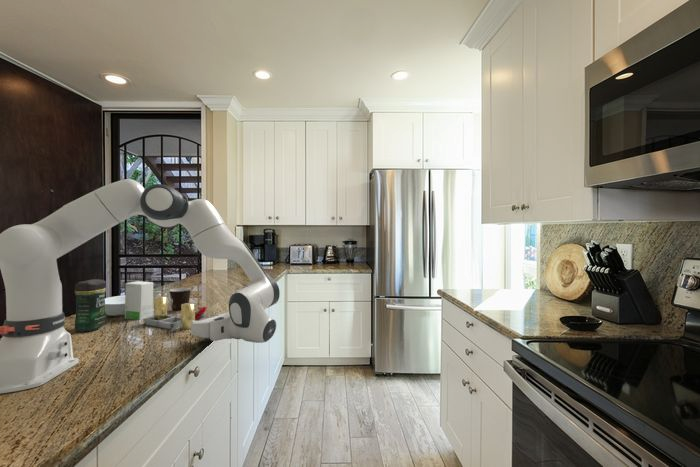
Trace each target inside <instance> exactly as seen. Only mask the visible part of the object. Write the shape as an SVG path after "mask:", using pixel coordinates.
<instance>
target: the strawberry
mask: <svg viewBox="0 0 700 467" xmlns="http://www.w3.org/2000/svg"><path fill="white" fill-rule="evenodd" d="M207 310H208V306H201V307H199V308H198V309H196V310H195V320H199V318H207V315H206V314H205V312H207Z"/></svg>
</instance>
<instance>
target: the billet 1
mask: <svg viewBox="0 0 700 467" xmlns="http://www.w3.org/2000/svg"><path fill="white" fill-rule="evenodd" d="M167 315H168V296H166V295H159V296H153V317H154V320H158V321H159V320H162V319H166V318H167Z"/></svg>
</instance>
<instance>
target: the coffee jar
mask: <svg viewBox="0 0 700 467" xmlns="http://www.w3.org/2000/svg"><path fill="white" fill-rule="evenodd" d="M106 291H107V282H106V280H104V279H99V278H95V279H93V278H92V279H87V280H85V281H79V282H77V283H76V284H75V287H74V294H75V299H76V302H75V303H76V306H75V320H74V331H76V332H80V333H85V332H90V331H92V332H93V331H97V330H99V329H101V328H102V327H103V326H105V325H107V315H106V311H105V298H106Z"/></svg>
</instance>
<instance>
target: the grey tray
mask: <svg viewBox="0 0 700 467" xmlns="http://www.w3.org/2000/svg"><path fill="white" fill-rule="evenodd" d="M145 325H146V326H151V327H156V328H161V329H168V330H174V329H178V328H180V327H181V317H180V316H175V315H169V314H167V318H166V319H162V320H159V321H158V320H154V316H151V317H148V318H144V326H145Z"/></svg>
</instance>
